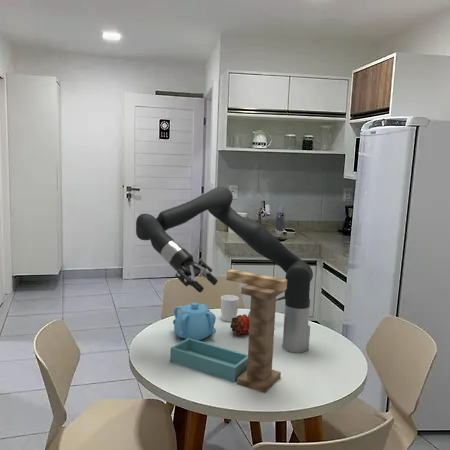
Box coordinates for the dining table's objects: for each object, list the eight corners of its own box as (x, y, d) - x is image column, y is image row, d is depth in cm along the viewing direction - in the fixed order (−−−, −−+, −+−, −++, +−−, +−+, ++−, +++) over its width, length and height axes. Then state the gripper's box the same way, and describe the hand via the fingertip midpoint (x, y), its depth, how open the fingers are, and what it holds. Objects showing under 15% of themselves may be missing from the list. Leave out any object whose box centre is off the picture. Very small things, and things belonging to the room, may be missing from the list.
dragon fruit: (233, 341, 181) (243, 335, 192) (250, 332, 178) (260, 327, 189) (223, 322, 183) (234, 317, 194) (240, 313, 180) (250, 308, 191)
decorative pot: (217, 343, 175) (219, 309, 173) (176, 345, 172) (177, 311, 170) (209, 327, 191) (211, 296, 189) (171, 329, 187) (172, 297, 185)
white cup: (218, 321, 198) (219, 299, 197) (221, 315, 206) (222, 294, 204) (236, 323, 197) (237, 301, 195) (238, 316, 205) (239, 295, 203)
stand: (236, 384, 144) (241, 287, 139) (253, 369, 154) (258, 279, 149) (264, 393, 139) (270, 293, 134) (280, 377, 149) (286, 284, 145)
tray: (170, 361, 158) (170, 348, 157) (188, 350, 167) (188, 337, 166) (234, 382, 145) (235, 367, 144) (250, 369, 154) (251, 355, 154)
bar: (226, 279, 147) (226, 271, 147) (230, 278, 150) (231, 269, 149) (282, 291, 137) (283, 281, 137) (286, 288, 140) (287, 279, 139)
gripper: (184, 259, 165) (215, 288, 160) (159, 269, 153) (192, 301, 148) (193, 243, 162) (225, 273, 156) (168, 252, 150) (202, 285, 145)
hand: (209, 286), depth 152 cm, fingers open, 8 cm apart
